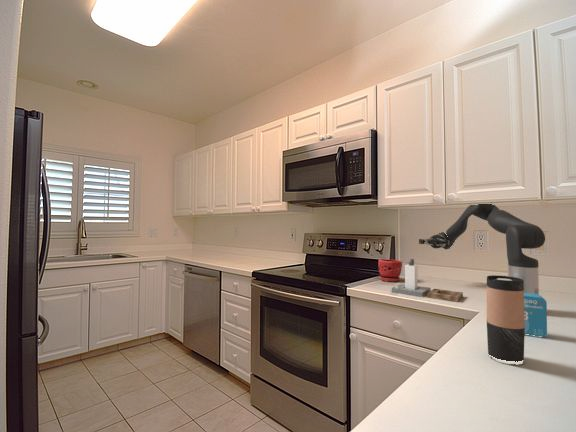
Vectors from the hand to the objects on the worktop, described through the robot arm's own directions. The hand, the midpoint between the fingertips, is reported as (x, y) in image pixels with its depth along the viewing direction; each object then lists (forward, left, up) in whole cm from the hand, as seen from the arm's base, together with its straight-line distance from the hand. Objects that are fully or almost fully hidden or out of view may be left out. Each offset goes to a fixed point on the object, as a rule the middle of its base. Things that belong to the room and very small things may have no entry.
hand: (430, 242), depth 153 cm
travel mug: (-36, +73, -24) cm, 85 cm away
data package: (-38, +48, -24) cm, 66 cm away
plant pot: (+24, -7, -24) cm, 35 cm away
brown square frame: (-10, +15, -24) cm, 30 cm away
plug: (+5, +15, -24) cm, 29 cm away
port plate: (+5, +15, -24) cm, 29 cm away
